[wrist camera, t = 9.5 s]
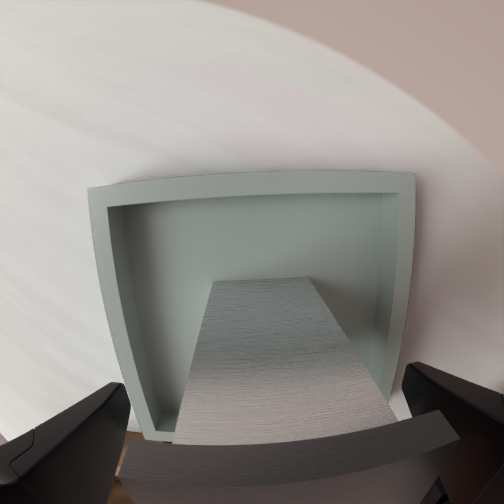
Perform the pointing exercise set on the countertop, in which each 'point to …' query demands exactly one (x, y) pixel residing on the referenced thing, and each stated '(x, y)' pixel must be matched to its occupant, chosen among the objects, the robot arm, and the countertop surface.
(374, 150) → the countertop surface
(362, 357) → the tray
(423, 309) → the countertop surface
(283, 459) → the grey boxy piece
